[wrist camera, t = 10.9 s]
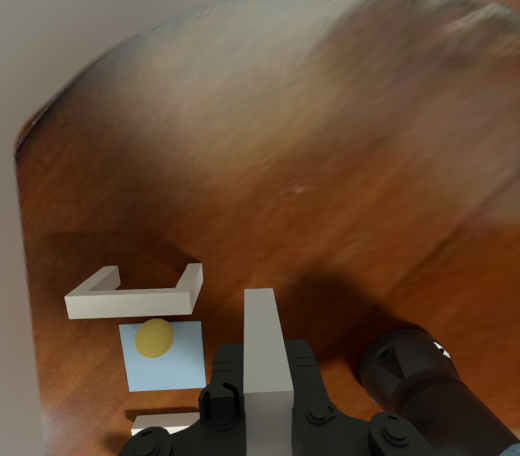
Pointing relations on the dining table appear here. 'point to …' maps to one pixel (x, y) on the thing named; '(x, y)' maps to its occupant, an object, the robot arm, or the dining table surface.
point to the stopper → (165, 421)
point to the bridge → (132, 296)
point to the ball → (154, 338)
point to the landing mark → (166, 360)
